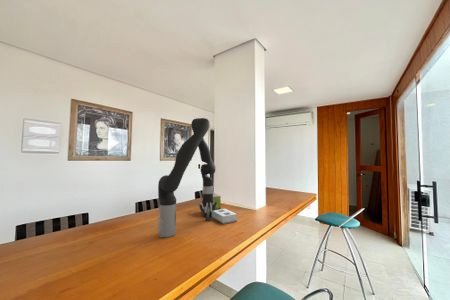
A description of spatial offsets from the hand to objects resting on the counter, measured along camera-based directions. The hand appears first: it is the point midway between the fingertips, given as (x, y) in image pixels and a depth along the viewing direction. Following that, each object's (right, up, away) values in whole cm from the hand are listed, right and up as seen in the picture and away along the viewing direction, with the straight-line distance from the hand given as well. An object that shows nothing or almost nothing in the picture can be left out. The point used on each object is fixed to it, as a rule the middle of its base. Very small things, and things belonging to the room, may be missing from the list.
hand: (207, 217), depth 130 cm
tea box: (+1, -3, +17) cm, 17 cm away
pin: (0, -2, 0) cm, 2 cm away
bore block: (+12, -2, +2) cm, 12 cm away
